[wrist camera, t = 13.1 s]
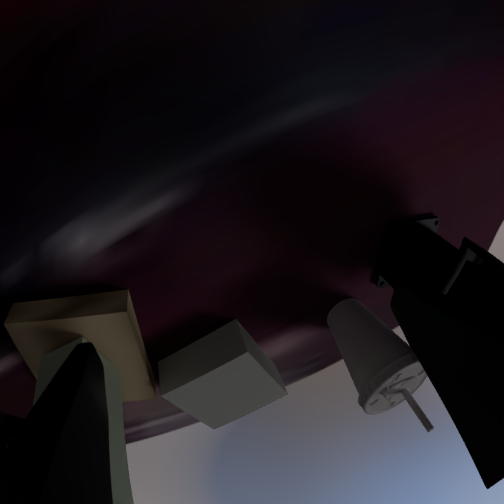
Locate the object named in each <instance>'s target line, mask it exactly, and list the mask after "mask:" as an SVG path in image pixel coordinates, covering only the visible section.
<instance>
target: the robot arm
mask: <svg viewBox="0 0 504 504" xmlns="http://www.w3.org/2000/svg"><path fill="white" fill-rule="evenodd" d="M439 225H440V219H439V218H438V217H437V216H432V217H425V218H418V219H410V220H403V221H396V222H391V223H389V224H388V225H387V228H386V233H385V238H384V243H383V248H382V253H381V258H380V263H379V267H378V272H377V276H376V281H375V285H376V286H377V287H378V288H382V287H386V286H390V285H391V287H392V288H393V289H394V292H393V296H392V299H391V309H392V311H393V313H394V315H395V317H396V319H397V321H398V323H399V325H400V327H401V329H402V331H403V333H404V335H405V337H406V339H407V341H408V343H409V345H410V347H411V349H412V351H413V352H414V354H415V356H416V357H417V359H418V360H419V362H420V364H421V365H422V367H423V369H424V371H425V372H426V374H427V376H428V377H429V379H430V381H431V382H432V384H433V386H434V388H435V389H436V391H437V393H438V395H439V396H440V398H441V400H442V402H443V404H444V405H445V407H446V409H447V411H448V413H449V414H450V416H451V418H452V420H453V422H454V424H455V425H456V428H457V429H458V431H459V433H460V435H461V437H462V439H463V441H464V443H465V445H466V447H467V449H468V451H469V453H470V455H471V457H472V459H473V461H474V463H475V466H476V467H477V470H478V472H479V474H480V476H481V478H482V480H483V482H484V485H485V486H486V488H487V489H489V488H490V487H491V486H493V485H494V484H496V483H497V482H499V481H500V480H502V479H503V478H504V263H502V262H501V261H500V260H499V259H497V258H496V257H495V256H493V255H492V254H490V253H489V252H488V251H486V250H485V249H483V248H482V247H480V246H479V245H477V244H476V243H474V242H472V241H471V240H469V239H468V238H466V237H464V239H463V240H462V242H461V243H462V244H461V246H460V248H459V250H458V249H457V248H456V247H454V246H453V245H452V244H450V243H449V242H447V241H446V240H445V239H443V238H442V237H441V236H439V235H438V234H437V233H438V229H439ZM392 228H393V229H392ZM391 229H392V230H391ZM0 504H113V497H112V485H111V471H110V451H109V418H108V408H107V399H106V388H105V377H104V367H103V363H102V361H101V359H100V357H99V355H98V353H97V351H96V349H95V347H94V345H93V344H92V343H91V342H85V343H79V344H77V345H76V346H75V348H74V349H73V350H72V352H71V353H70V354H69V356H68V357H67V358H66V360H65V361H64V363H63V364H62V365H61V367H60V368H59V370H58V371H57V372H56V374H55V375H54V377H53V378H52V380H51V381H50V382H49V384H48V385H47V387H46V388H45V390H44V391H43V393H42V394H41V396H40V397H39V399H38V400H37V402H36V403H35V405H34V406H33V408H32V409H31V411H30V412H29V414H28V415H27V417H26V418H25V420H24V421H23V423H22V425H21V426H20V428H19V429H18V431H17V433H16V434H15V438H13V439H12V440H11V442H10V444H9V445H8V447H7V449H6V450H5V452H4V453H3V455H2V457H1V458H0Z"/></svg>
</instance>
